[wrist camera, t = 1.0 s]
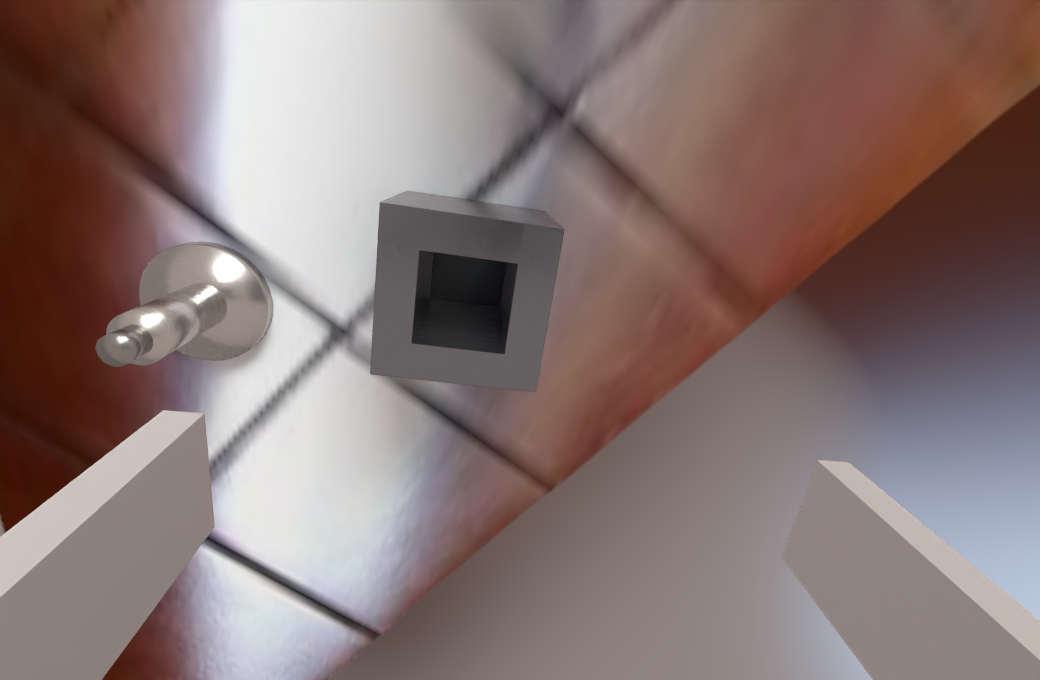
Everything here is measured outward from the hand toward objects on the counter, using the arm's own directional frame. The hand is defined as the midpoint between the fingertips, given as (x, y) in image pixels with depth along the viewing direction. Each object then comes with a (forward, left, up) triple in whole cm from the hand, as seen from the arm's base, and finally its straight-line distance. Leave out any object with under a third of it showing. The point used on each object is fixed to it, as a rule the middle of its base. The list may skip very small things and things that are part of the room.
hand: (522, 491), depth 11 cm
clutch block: (0, -2, -21) cm, 21 cm away
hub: (+4, -17, -21) cm, 27 cm away
